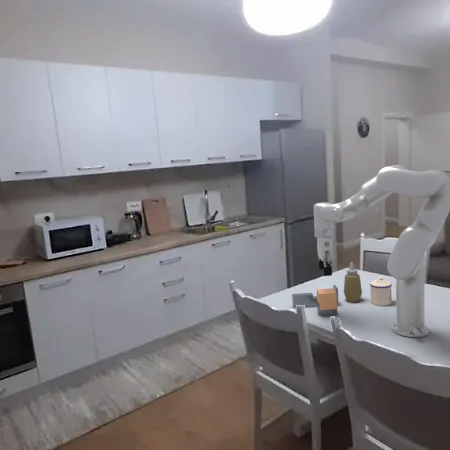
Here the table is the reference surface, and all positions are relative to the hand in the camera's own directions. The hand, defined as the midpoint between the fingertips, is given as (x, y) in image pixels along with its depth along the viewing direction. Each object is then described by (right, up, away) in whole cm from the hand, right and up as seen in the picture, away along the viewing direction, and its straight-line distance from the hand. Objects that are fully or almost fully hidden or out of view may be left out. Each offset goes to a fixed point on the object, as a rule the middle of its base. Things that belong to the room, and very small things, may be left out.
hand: (325, 272), depth 174 cm
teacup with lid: (+28, -15, +12) cm, 33 cm away
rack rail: (-1, -16, +16) cm, 23 cm away
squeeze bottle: (+17, -15, +16) cm, 28 cm away
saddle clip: (+1, -15, +2) cm, 15 cm away
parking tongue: (+1, -18, +3) cm, 18 cm away
